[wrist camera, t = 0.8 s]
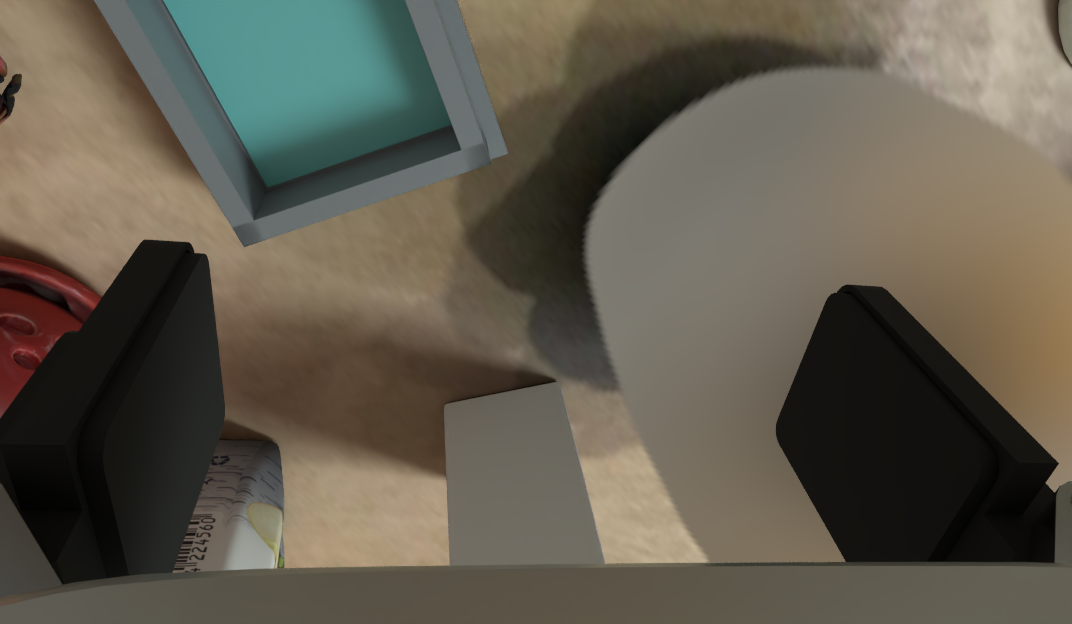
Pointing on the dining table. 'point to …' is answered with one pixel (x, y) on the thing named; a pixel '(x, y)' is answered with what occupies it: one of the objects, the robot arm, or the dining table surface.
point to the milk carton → (516, 482)
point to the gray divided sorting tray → (311, 100)
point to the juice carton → (237, 511)
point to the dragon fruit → (8, 92)
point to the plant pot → (35, 318)
